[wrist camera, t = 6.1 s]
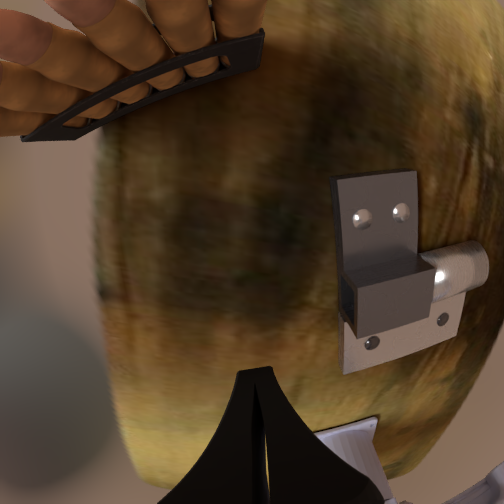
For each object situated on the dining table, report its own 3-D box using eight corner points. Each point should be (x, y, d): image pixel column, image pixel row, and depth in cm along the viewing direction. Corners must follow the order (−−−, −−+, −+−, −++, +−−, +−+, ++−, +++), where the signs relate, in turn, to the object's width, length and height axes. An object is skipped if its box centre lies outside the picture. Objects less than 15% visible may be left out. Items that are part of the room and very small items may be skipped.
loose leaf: (404, 292, 17) (429, 317, 14) (339, 308, 18) (356, 339, 15) (405, 168, 15) (438, 176, 12) (329, 176, 15) (352, 185, 12)
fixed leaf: (448, 327, 19) (469, 349, 16) (338, 363, 19) (352, 394, 16) (462, 234, 16) (492, 250, 13) (336, 261, 16) (356, 287, 13)
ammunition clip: (249, 38, 12) (288, -143, 1) (259, 68, 13) (331, -101, 1) (65, 112, 12) (-118, 116, 1) (73, 141, 13) (-117, 176, 2)
